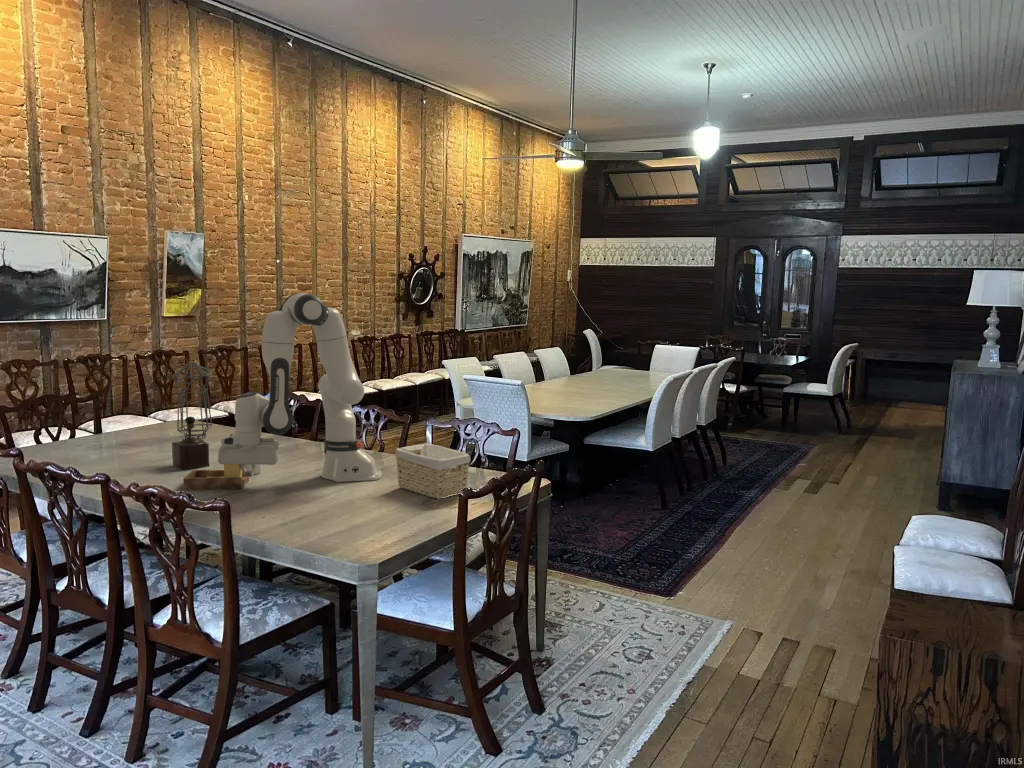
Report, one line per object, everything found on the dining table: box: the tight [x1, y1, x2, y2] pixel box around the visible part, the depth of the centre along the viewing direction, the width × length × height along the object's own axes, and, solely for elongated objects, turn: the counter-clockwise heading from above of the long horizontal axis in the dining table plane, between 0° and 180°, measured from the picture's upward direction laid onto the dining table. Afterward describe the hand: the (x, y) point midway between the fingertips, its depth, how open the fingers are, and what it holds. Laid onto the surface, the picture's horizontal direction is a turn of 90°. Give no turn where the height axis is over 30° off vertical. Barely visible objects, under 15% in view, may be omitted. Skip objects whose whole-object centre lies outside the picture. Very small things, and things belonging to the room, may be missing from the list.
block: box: [223, 464, 242, 478], centre depth 269 cm, size 5×5×6 cm
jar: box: [245, 465, 263, 475], centre depth 288 cm, size 9×8×12 cm
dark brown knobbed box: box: [171, 416, 210, 471], centre depth 296 cm, size 16×11×18 cm
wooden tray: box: [182, 469, 250, 491], centre depth 269 cm, size 19×12×4 cm, turn 97°
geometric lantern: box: [170, 361, 213, 440], centre depth 345 cm, size 16×16×35 cm
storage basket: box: [394, 442, 471, 500], centre depth 270 cm, size 24×16×15 cm
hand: (248, 476), depth 270 cm, fingers closed
